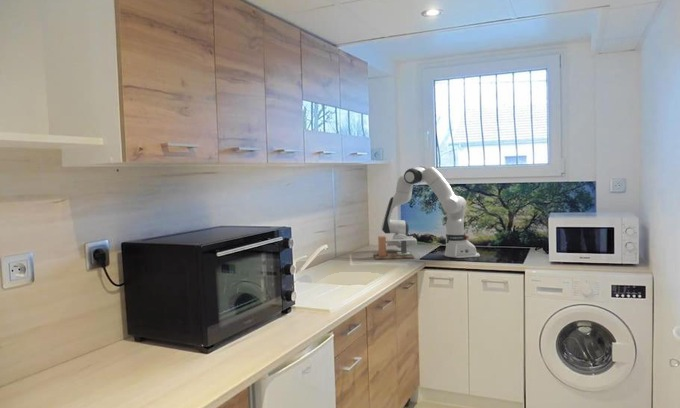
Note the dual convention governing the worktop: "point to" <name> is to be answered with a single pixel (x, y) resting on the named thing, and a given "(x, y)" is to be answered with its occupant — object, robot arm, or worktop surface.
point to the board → (392, 256)
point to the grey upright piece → (403, 249)
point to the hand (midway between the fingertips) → (402, 243)
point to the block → (382, 245)
